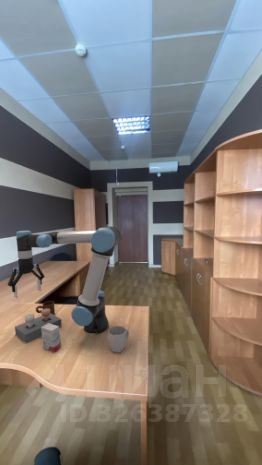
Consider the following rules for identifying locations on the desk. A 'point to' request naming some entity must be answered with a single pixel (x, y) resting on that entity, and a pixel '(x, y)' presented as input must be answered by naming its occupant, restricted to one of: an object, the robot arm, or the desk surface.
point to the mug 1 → (47, 305)
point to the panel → (35, 328)
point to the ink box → (51, 337)
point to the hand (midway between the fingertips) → (28, 293)
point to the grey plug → (29, 320)
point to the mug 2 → (117, 338)
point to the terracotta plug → (46, 314)
